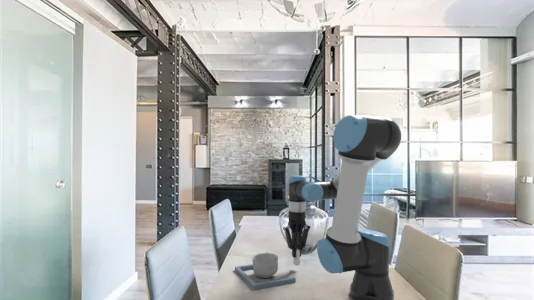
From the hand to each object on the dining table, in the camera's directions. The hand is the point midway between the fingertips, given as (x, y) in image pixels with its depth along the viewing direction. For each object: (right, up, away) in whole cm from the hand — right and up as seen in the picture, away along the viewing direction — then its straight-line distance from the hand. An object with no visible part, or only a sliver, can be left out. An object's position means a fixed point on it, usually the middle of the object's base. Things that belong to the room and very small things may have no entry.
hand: (296, 264), depth 140 cm
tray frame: (-14, -2, -7) cm, 16 cm away
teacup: (-13, -2, -5) cm, 15 cm away
